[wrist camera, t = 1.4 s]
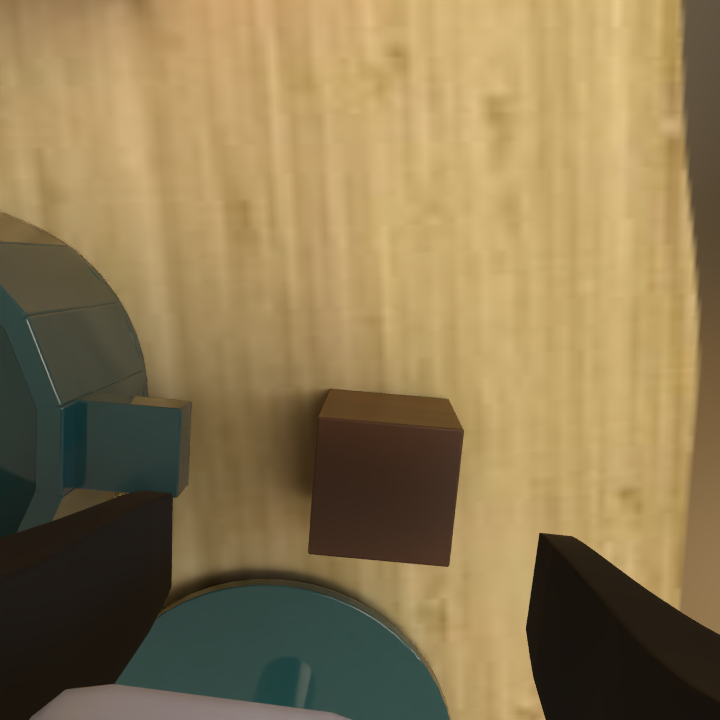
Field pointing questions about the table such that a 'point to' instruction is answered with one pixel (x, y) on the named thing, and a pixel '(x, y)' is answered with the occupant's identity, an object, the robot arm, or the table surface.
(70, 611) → the robot arm
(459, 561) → the table surface
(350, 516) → the block
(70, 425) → the pot
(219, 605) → the lid
